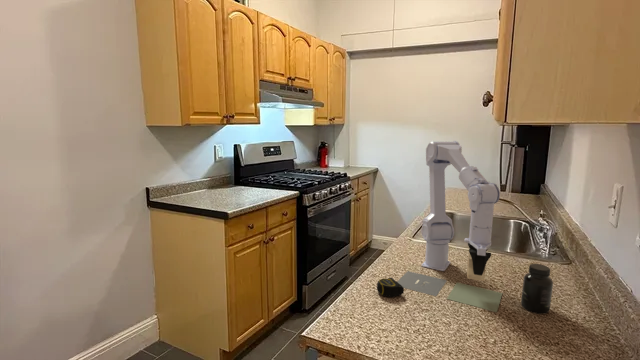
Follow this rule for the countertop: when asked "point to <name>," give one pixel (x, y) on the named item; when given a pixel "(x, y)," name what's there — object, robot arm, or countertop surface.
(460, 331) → the countertop surface
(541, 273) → the supplement bottle
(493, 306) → the olive mat
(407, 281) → the tile
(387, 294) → the tape measure
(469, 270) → the birch block
